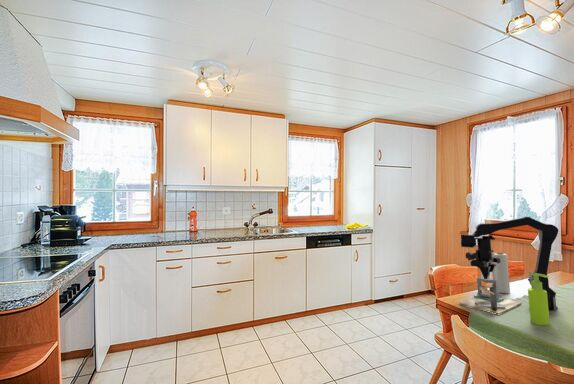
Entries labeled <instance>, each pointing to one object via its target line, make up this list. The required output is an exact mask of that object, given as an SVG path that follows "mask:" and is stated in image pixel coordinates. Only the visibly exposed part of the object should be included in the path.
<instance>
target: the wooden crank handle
mask: <svg viewBox="0 0 574 384" xmlns="http://www.w3.org/2000/svg"><path fill="white" fill-rule="evenodd" d="M481 285H482V286H480V290H481V291H482V292H484V293H486V294H487V295H489V296H490V300H491V310H494V311H497V301H496V294H494V283H491V282H487V283H485V284H481Z"/></svg>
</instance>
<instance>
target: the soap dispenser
mask: <svg viewBox="0 0 574 384" xmlns="http://www.w3.org/2000/svg"><path fill="white" fill-rule="evenodd" d="M530 273H531V275H533V279H534V280H533V281H531V285H530V286H531V287H530V288H527V294H528V305H529V306H528V307H529V318H530V322H531V323H532V324H536V325H540V326H550V324H551V323H550V310H548V299H547V291H545V290H543V289H542V282H540V281H539V276H542V277H545V278H546V277H548V278H549V277H550V276H549V275H548V274H547V275H544V274H539V273H533V272H530Z"/></svg>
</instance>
